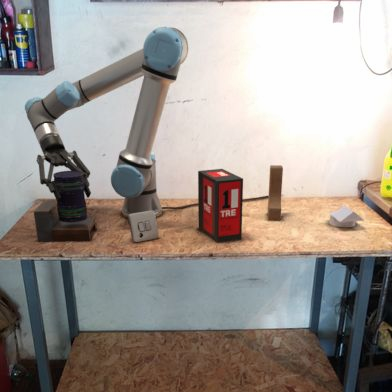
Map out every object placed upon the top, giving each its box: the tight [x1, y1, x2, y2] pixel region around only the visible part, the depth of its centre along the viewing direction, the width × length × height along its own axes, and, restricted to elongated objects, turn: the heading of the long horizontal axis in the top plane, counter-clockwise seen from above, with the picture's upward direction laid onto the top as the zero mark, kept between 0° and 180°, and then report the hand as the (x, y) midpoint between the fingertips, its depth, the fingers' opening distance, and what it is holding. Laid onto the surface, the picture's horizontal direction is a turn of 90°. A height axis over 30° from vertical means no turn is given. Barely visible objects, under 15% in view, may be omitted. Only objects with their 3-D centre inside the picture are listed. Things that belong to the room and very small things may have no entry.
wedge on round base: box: [329, 204, 365, 228], centre depth 203 cm, size 9×7×13 cm
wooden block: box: [267, 164, 284, 221], centre depth 211 cm, size 9×4×18 cm, turn 176°
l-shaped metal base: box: [33, 199, 97, 242], centre depth 196 cm, size 18×14×10 cm
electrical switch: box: [127, 210, 160, 243], centre depth 192 cm, size 9×5×9 cm, turn 121°
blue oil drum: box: [52, 170, 88, 223], centre depth 192 cm, size 10×10×15 cm
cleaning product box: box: [197, 168, 244, 244], centre depth 193 cm, size 16×9×20 cm, turn 22°
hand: (74, 197), depth 190 cm, fingers closed on blue oil drum, 10 cm apart
